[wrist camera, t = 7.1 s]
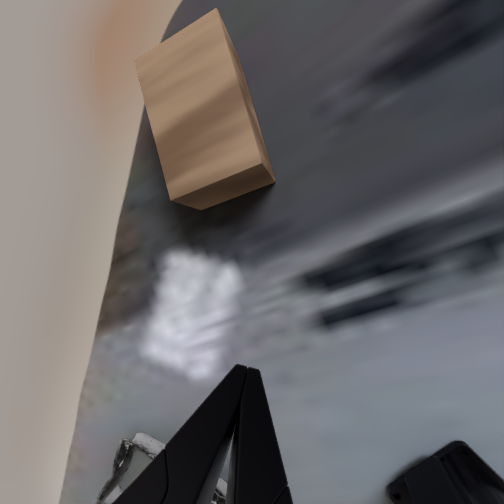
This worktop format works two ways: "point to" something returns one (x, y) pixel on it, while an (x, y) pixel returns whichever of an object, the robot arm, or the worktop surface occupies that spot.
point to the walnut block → (203, 116)
